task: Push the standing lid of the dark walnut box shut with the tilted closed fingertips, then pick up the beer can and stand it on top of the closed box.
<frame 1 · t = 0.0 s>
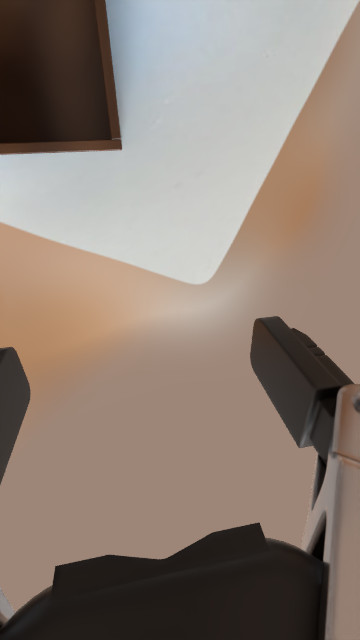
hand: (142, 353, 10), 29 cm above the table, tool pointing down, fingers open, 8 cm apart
chest: (41, 53, 27), on the table
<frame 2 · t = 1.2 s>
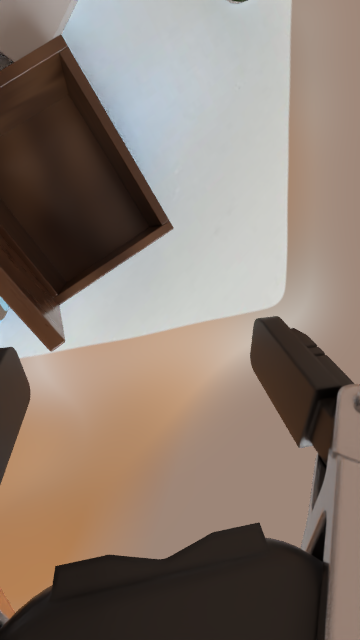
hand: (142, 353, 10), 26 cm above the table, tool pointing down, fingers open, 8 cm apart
chest: (68, 196, 31), on the table
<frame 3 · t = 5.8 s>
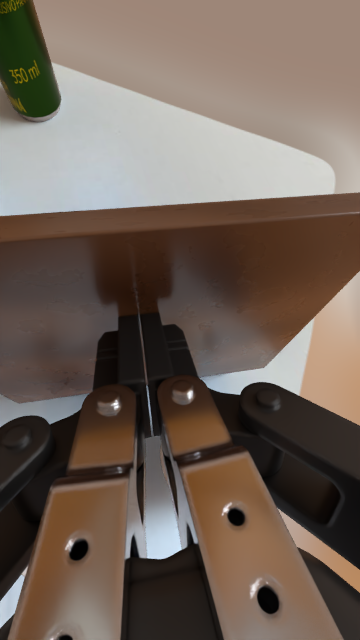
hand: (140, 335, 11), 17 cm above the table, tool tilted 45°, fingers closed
beer can: (39, 106, 33), on the table
lid: (142, 335, 13), point 15 cm above the table, hinge at 76.6°, touching gripper
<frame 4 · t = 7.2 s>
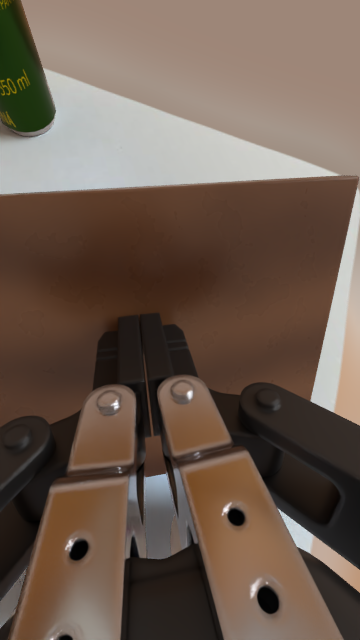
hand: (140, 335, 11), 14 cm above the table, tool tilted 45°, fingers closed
beer can: (30, 118, 30), on the table
lid: (144, 364, 12), point 13 cm above the table, hinge at 41.4°, touching gripper
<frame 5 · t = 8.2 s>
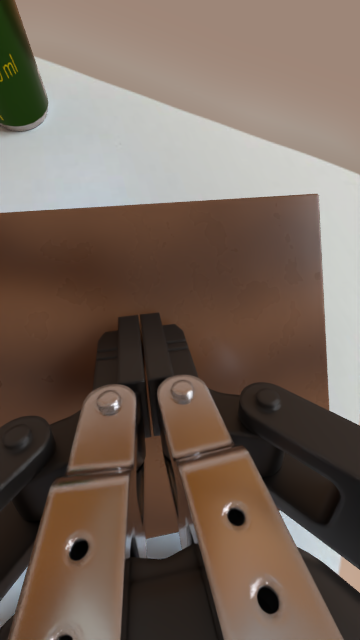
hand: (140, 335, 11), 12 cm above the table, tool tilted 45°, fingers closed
beer can: (21, 111, 27), on the table
lid: (144, 377, 12), point 10 cm above the table, hinge at 19.4°, touching gripper
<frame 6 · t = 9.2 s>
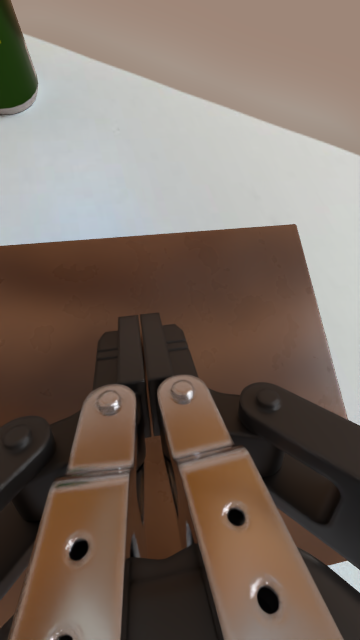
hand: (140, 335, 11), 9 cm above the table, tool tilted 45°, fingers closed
beer can: (8, 93, 24), on the table
lid: (146, 394, 12), point 8 cm above the table, hinge at -0.2°, touching chest, gripper
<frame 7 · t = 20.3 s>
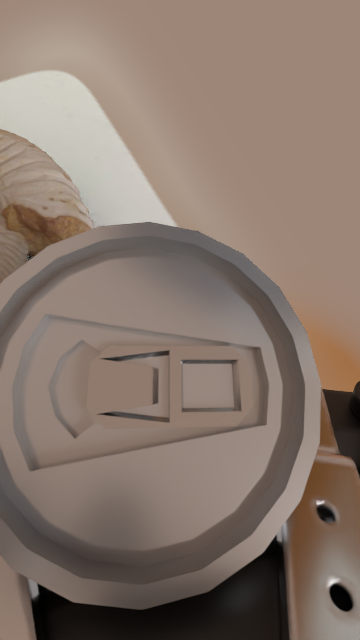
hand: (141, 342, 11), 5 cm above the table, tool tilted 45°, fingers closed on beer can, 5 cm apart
beer can: (148, 393, 16), on the table, touching gripper
when the fingers open (14 cm above the table, at t = 30.2 s): beer can stays where it is, resting on lid.
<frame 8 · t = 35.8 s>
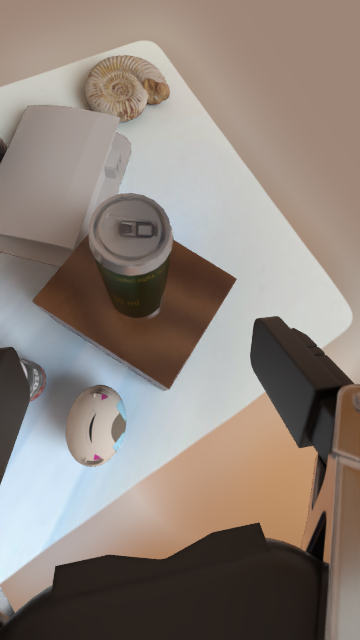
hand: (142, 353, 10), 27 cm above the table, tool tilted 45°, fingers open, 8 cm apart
chest: (139, 315, 38), on the table
pill bottle: (26, 382, 35), on the table
fossil: (124, 99, 46), on the table
beer can: (137, 294, 30), point 8 cm above the table, touching lid
white stadium model: (61, 188, 41), on the table
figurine: (102, 421, 34), on the table
lid: (139, 290, 30), point 8 cm above the table, hinge at -0.2°, touching beer can, chest
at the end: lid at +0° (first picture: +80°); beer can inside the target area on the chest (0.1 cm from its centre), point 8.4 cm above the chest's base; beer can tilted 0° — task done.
